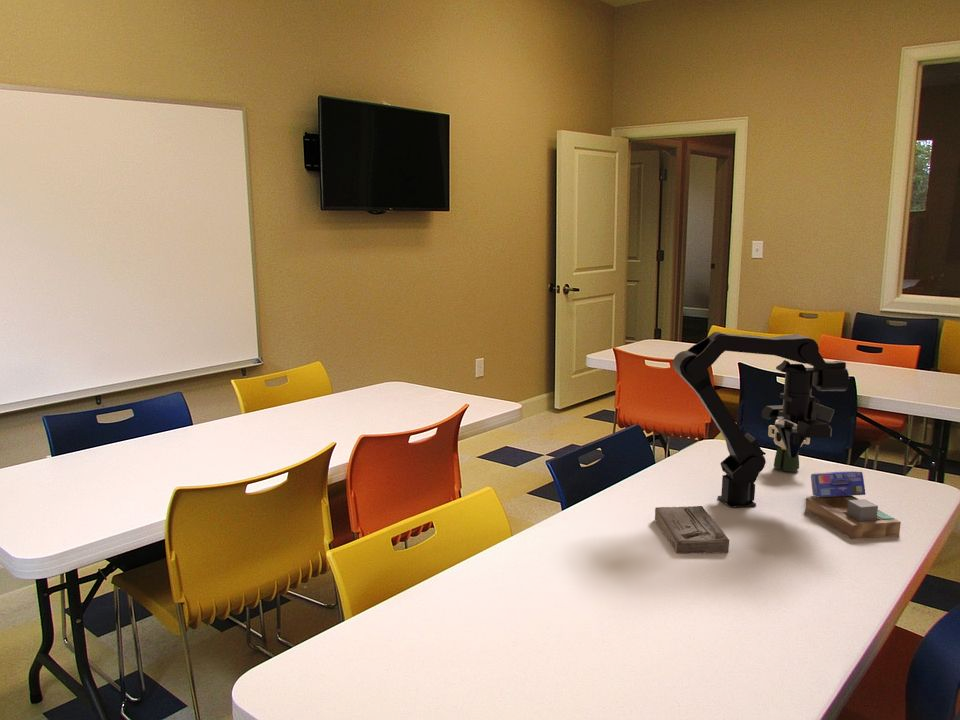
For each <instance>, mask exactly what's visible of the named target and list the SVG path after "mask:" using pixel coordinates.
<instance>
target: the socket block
mask: <svg viewBox="0 0 960 720" xmlns="http://www.w3.org/2000/svg"><path fill="white" fill-rule="evenodd" d="M848 500H860V499H859V498H858V497H856V496H855V495H853V496H835V497H818V496H813V497H812V496H810V497H808V496H807V497H806V499H805V511H806V512H808V513H809V514H811V515H813V516H814V517H816V518H817V519H819V520H820V521H822V522H824V523H826V524H827V525H829V526H830V527H831V528H834V529H835V530H836V531H838V532H840V533H841V534H843V535H844V536H846V537H848V538H849V539H850V540H856V539H857V540H858V539H867V538H868V539H869V538H882V537H895V536H900V532H901V523H902V522H901V521H900V520H899V519H896V518H895V517H892V516H891V515H889V514H887V513H885V512H884V511H882V510H879V509H878V512H877V521H867V522H858V521H856V520H854V519H853V518H851V517H849V516H848V515H847V507H848Z"/></svg>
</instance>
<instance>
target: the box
mask: <svg viewBox="0 0 960 720" xmlns="http://www.w3.org/2000/svg"><path fill="white" fill-rule="evenodd" d="M654 521H656V524H657V526H658V527H659V528H660V530H661V531H662V533H663V535H664V536H665V538H666V539H667V541H668V543H670V546H671V547H672V549H673V551H674V552H675V553H676V554H700V553H701V554H716V553H724V554H727V553H729V549H730V538H729V537H728V536H727V535H726V534H725V533H724V531H723V530H722V529H721V528H720V526H719V525H718V524H717V522H716V521H715V520H714V519H713V518H712V516H711V515H710V514H709V513H708V512H707V510H706V509H705V508H704V506H703V505H694V506H661V507H660V506H659V507H655V508H654Z"/></svg>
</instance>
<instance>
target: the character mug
mask: <svg viewBox="0 0 960 720" xmlns="http://www.w3.org/2000/svg"><path fill="white" fill-rule="evenodd" d="M778 420H779V419H778V418H777V419H776V420H775V422H774V424H773V425H772V424H770V425H768V431H767V434H768V435H767V436H768V437H770V438H771V439H772V438H773V442H774V444H775V445H776V446H777V447H778V448H777V449H776V452H775V456H774V461H773V468H775V469H777V470H779V471H780V470H781V469H782V468H783V470H782V471H783V472H796V471H797V470H799V469H800V458H799V457H800V455H799V452H798V453H797V455H796V457H795V458H791V457H790V456H789V454H788V452H787V449H786V447H785V445H784V442H783V440H782V438H781V436H780V433H779V431H778V429H777V428H776V427H775V424H778ZM773 430H774V432H773ZM810 443H811V438H805V439H804V441H803V443H802V445H801V447H802V446H803V445H804V444H805V445H810Z"/></svg>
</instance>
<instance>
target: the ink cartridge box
mask: <svg viewBox="0 0 960 720" xmlns="http://www.w3.org/2000/svg"><path fill="white" fill-rule="evenodd" d="M810 482H811V492H812V495H813V497H835V496H865V495H866V488H865V481H864V473H863V472H862V471H856V470H855V471H853V470H850V471H849V470H848V471H847V470H845V471H831V472H830V471H828V472H827V471H826V472H816V473H815V472H814V473H811V475H810Z"/></svg>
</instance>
